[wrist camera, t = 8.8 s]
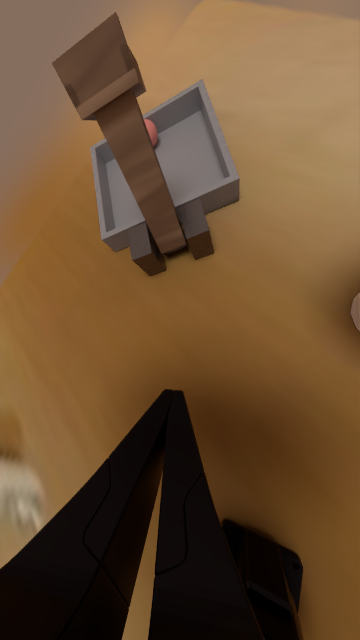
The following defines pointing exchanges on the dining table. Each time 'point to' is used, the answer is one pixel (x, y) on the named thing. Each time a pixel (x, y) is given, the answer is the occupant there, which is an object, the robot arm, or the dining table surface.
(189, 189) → the tray
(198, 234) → the lever stand
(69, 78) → the lever
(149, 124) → the ball
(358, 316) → the foam cup
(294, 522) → the dining table surface
